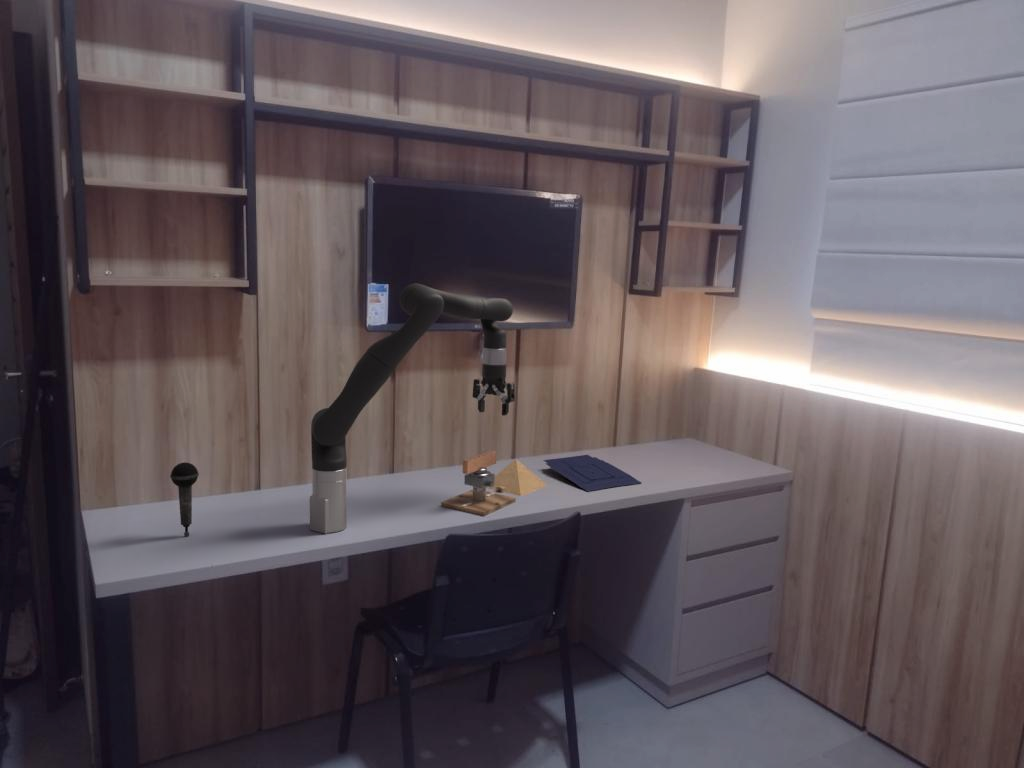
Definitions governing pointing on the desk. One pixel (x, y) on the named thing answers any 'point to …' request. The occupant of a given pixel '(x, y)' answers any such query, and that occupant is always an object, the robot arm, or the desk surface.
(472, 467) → the lever handle
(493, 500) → the post base
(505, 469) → the model pyramid
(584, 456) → the dark blue flat panel
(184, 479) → the microphone
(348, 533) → the desk surface
